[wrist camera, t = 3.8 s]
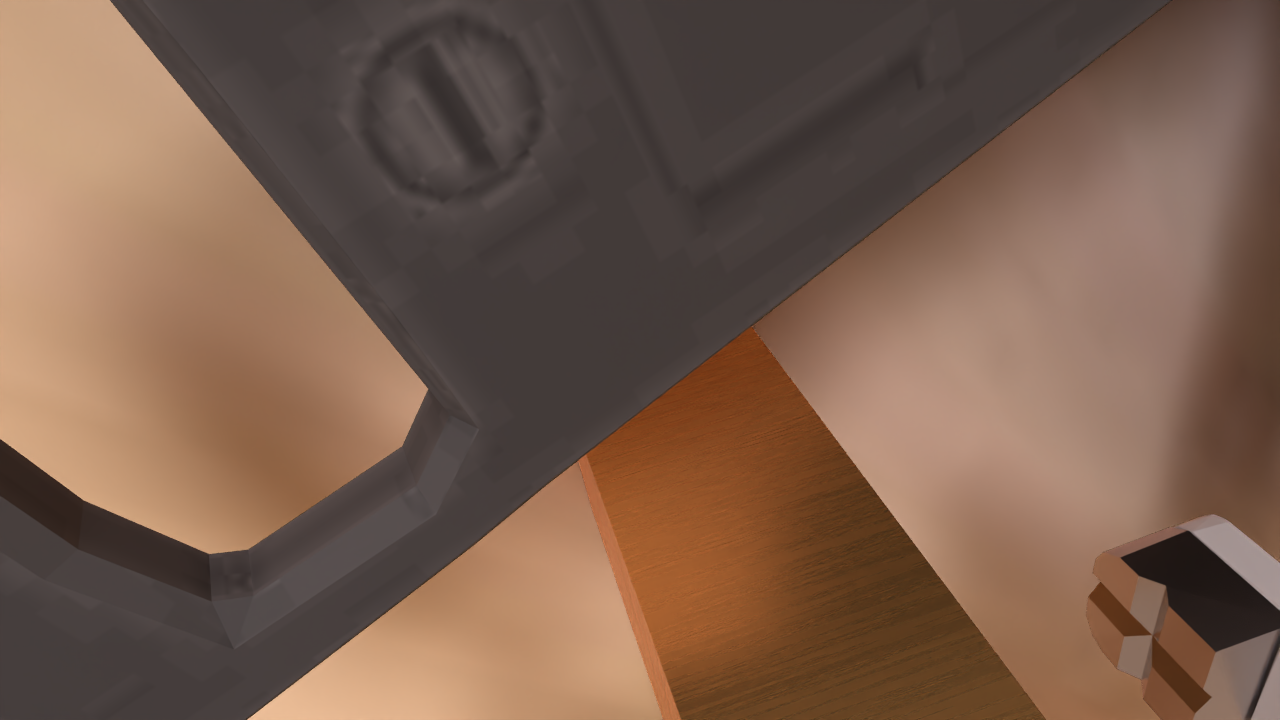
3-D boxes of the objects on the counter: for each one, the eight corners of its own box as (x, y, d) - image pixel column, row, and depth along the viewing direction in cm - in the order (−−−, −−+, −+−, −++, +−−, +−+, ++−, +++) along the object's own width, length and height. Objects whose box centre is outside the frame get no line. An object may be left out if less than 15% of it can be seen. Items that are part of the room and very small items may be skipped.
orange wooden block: (541, 331, 14) (956, 1482, 5) (716, 279, 15) (1438, 1242, 5) (591, 507, 17) (936, 1523, 7) (741, 458, 17) (1266, 1354, 7)
